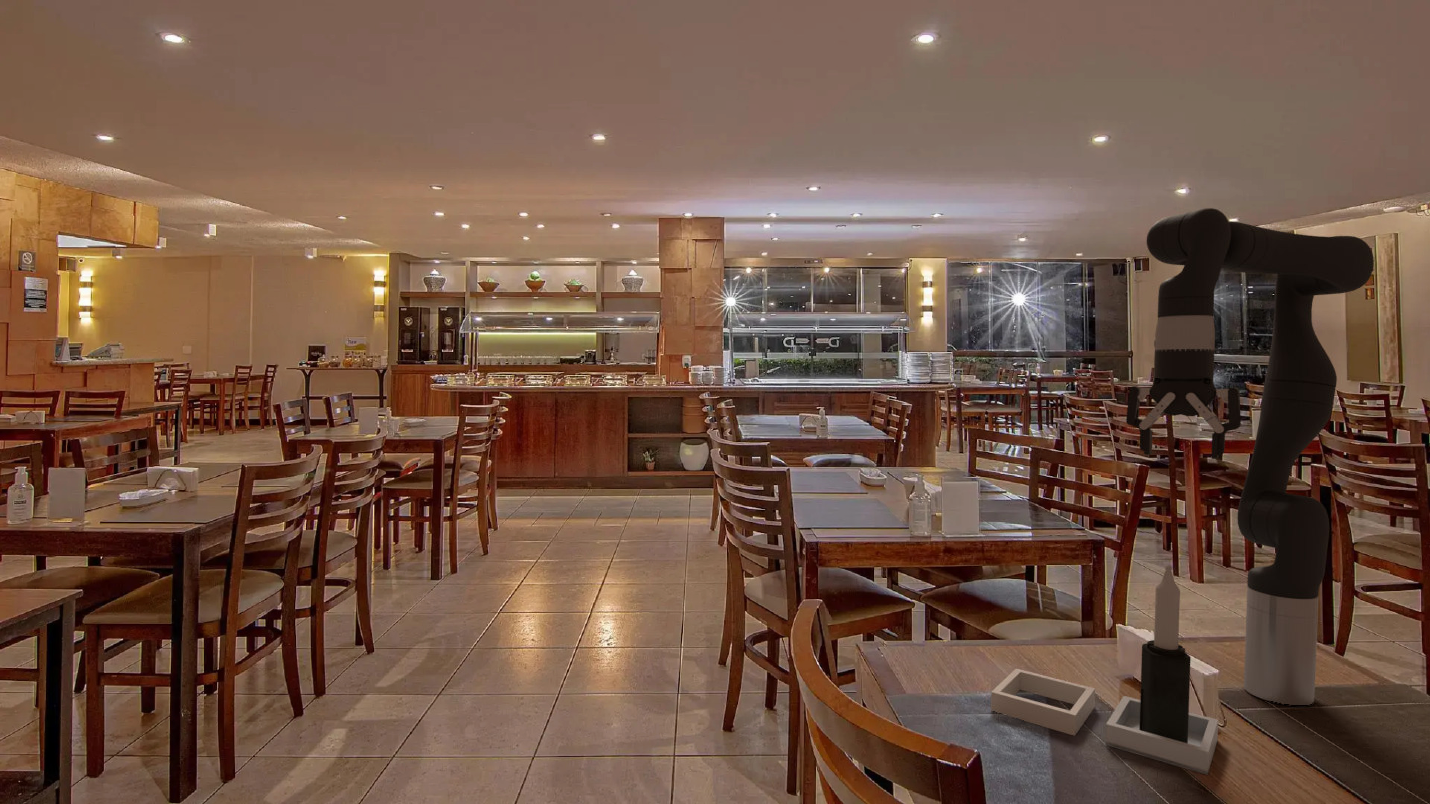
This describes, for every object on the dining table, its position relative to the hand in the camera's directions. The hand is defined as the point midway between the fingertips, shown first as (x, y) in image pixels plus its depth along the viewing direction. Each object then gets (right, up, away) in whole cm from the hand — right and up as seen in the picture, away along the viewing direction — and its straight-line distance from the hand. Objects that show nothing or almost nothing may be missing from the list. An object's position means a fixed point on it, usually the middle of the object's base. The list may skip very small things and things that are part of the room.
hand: (1180, 456), depth 110 cm
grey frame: (-18, -40, +5) cm, 44 cm away
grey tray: (-6, -40, -5) cm, 41 cm away
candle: (-6, -40, -5) cm, 41 cm away
